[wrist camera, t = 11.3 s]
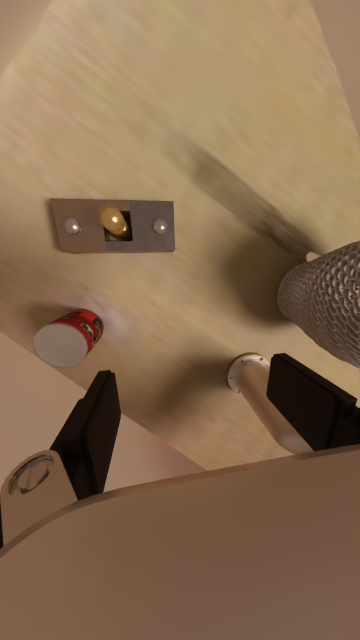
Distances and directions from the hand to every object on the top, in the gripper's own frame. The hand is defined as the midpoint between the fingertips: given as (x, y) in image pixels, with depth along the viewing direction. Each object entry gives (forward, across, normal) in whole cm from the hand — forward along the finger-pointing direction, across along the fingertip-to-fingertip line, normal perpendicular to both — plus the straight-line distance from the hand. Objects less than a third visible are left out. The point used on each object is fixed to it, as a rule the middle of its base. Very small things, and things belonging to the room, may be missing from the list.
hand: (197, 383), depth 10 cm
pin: (+30, +8, -14) cm, 34 cm away
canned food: (+30, +18, +5) cm, 36 cm away
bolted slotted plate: (+30, +8, -14) cm, 34 cm away
